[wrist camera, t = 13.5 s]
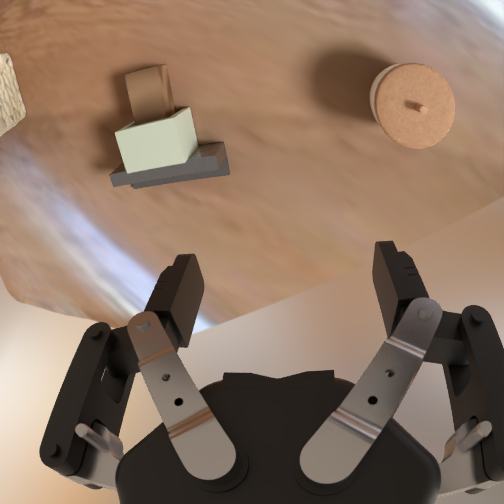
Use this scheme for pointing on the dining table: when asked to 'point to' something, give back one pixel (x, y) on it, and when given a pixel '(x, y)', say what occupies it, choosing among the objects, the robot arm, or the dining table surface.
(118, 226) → the dining table surface
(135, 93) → the walnut block
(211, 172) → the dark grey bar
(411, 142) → the lidded jar
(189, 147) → the sage block
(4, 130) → the storage basket
